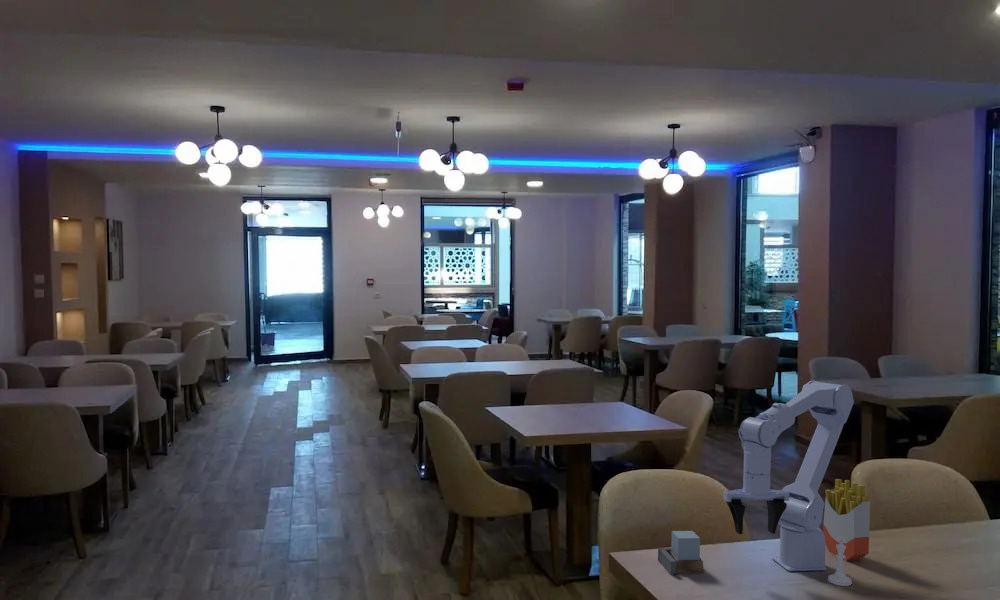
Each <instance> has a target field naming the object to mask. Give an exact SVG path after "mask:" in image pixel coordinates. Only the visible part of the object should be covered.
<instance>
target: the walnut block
mask: <svg viewBox="0 0 1000 600" xmlns="http://www.w3.org/2000/svg"><path fill="white" fill-rule="evenodd" d="M670 555H671V557H672V558H673V559H674V560H675V561H676V572H681V573H680V574H703V566H704V560H702V558H701V557H700V560H677V558H676V557H675V556H674V555H673V554H672V553H671V551H670Z"/></svg>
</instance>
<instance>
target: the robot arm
mask: <svg viewBox="0 0 1000 600" xmlns="http://www.w3.org/2000/svg"><path fill="white" fill-rule="evenodd" d="M853 395H854V394H853V391H852V389H851V387H850V386H849V385H847V384H838V383H837V384H836V383H829V382H823V381H817V380H810V381H808V382H806V384H803V386H802V389H801V391H800V392H799V393H797V394H796V395H795V396H794V397H793V398H792V399H789V401H787V402H785V403H783V402H782V403H781V402H779V403H778V402H774V403H773V404H771V407H770V408H768V409H767V410H765V411H763V412H760V413H759V414H758V415H757V416H755V417H751V416H749V417H746V419H744V420H743V421H742V422H741V424H740V426H739V429H738V436H739V438H740V441H741V448H742V450H743V481H742V483H743V484H742V486H743V487H742V488H738V489H732V490H723V500H724V501H726V502H725V503H726V504H727V506H728V508H729V510H730V513H731V516H732V519H733V520H732V521H733V523H734V529H735V532H736V533H737V534H738V535H743V531H744V516H745V511H746V506H745V505H744V504H743V501H745V502H748V501H750V502H752V501H755V502H757V501H766V506H767V531H768V532H769V533H771V534H774V535H775V534H776V530H777V528H778V525H779V526H780V528H779V529H780V534H779V537H780V538H779V556H772V560H773V561H775V562H776V563H777V564H779V566H781V567H782V568H783V569H785V570H786V571H788V572H803V571H805V572H807V571H808V572H809V571H827V567H826V544H825V537H824V534H823V529H821V527H820V525H822V522H823V518H824V509H825V501H824V500H823V498H822V496H821V495H820V493H819V489H820V487H821V484H822V482H823V480H824V478H825V477H824V476H825V475H826V471H827V469H828V467H829V463H830V462H831V459H832V456H833V453H834V450H835V448H836V446H837V443H838V441H839V438H840V435H841V433H842V430H843V428H844V424H846V423H847V421H848V418H849V416H850V414H851V411H852V408H853V406H854V403H855V400H854V396H853ZM807 411H809V412H810V415H811V416H812V417H813V418H814V419H815V420H816V421H817V426H816V429H815V430H814V434H813V435H812V437H811V440H810V443H809V446H808V448H807V451H806V453H805V455H804V458H803V460H802V462H801V463H802V464H801V466H800V469H799V471H798V473H797V475H796V478H795V481H794V482H793V483H791V484H788V485H786V486H784V487H783V488H782V489H771V466H772V465H771V463H772V462H771V461H772V446H774V445H775V444H776V442H777V440H778V438H779V436H781V433H782V432H784V431H785V430H787V429H788V428H790V427H791V426H793V425H794V424H795V421H796V417H798V416H799V415H801V414H803V413H806V412H807Z"/></svg>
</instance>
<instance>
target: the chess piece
mask: <svg viewBox="0 0 1000 600" xmlns="http://www.w3.org/2000/svg"><path fill="white" fill-rule="evenodd" d="M837 542H840V544H837V545H836V548H837V551H838V554H836V556H835V555H834V556H835V558H838V559H837V563H836V564H837V565H836V570H835V572H834V573H832V574H829V575H828V576H827V581H828V582H829V583H831V584H833V585H836V586H840V587H842V586H843V587H849V585H850V586H851V584H853V580H852V578H850V577H849V576H848V575H846V573H845V569H844V567H845V566H844V560H843V559H845V558H846V556H845V555H843V553H844V551H845V548H846V546H845V545H843V544H842V542H845V540H842V537H840V539H837Z"/></svg>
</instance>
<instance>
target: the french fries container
mask: <svg viewBox="0 0 1000 600" xmlns="http://www.w3.org/2000/svg"><path fill="white" fill-rule="evenodd" d="M850 482H851V481H850V480H849V479H845V480H844V482H843V479H839V478H836V479H834V488H832V489H825V501H824V503H825V506H824V510H823V529H822V532H823V534H824V537H825V547H826V548H827V549H828V551H829V553H830V552H831V553H833V554H835V555H836V554H838V551H837V548H836V545H837V544H840V542H837V539H840V537H842V540H845V542H842V544H843V545H845V546H846V548H845V551H844V553H843V555H845V556H846V558H845V560H849V561H852V560H851V559H860V558H861V559H863V558H864V557H866V556H867V555H868V554H870V553H869V551H870V550H869V549H870V520H871V519H870V516H871V515H870V514H871V501H870V500H869V496H866V495H865V494H866V485H863V484H858V483H855V482H854V483H852V487H851V486H850V485H851V483H850ZM831 553H830V554H831ZM833 554H832V555H833ZM835 555H834V556H835ZM861 559H860V560H861ZM845 560H844V561H845Z"/></svg>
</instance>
